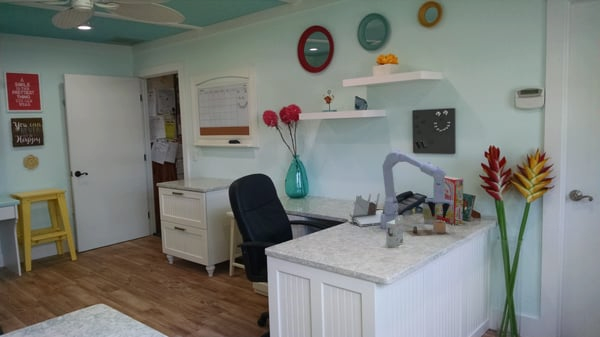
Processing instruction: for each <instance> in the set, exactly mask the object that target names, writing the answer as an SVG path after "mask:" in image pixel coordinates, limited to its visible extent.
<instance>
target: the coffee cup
mask: <svg viewBox="0 0 600 337" xmlns="http://www.w3.org/2000/svg"><path fill="white" fill-rule="evenodd" d="M426 198H427V197H423V198H422V200H421V204H422V213H423V214H422V216H423V222H424V225H433V221H437V220H438V219H437V212H438V203H436V204H435V216H434V217H432V213H431V210H430V208H429V206H428V204H429V202H425V199H426ZM428 198H429V199H433V197H428Z"/></svg>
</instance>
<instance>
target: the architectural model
mask: <svg viewBox="0 0 600 337" xmlns="http://www.w3.org/2000/svg"><path fill="white" fill-rule="evenodd" d="M380 194H381V193H377V196H376V197H377V198H376V200H371V197H372V193H369V195H368V200H367V199H365V198H363V196H362V195H361V194H359V195H358V194H357V195H356V198H355V202H353V204H354V208H353V212H349V214H348V215H349V216H350V217H351V218H350V220H351V224H354V223H356V224H357V226H359V227H360V228H365V227H366V228H367V227H374V226H380V218H381V215H382V214H385V211H384V206H385V202H384V203H383V209H379V210H377V209H378V203H379V199H380ZM396 196H397V191H395V197H396ZM396 198H397V197H396ZM385 199H386V197H385ZM385 199H384V200H385ZM398 220H400V218H398Z"/></svg>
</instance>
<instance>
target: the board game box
mask: <svg viewBox="0 0 600 337" xmlns="http://www.w3.org/2000/svg"><path fill="white" fill-rule="evenodd" d="M443 179H444V178H443ZM445 200H451V201H453V205H450V206H449V208H448V210H447V213H446V217H445V218H443V207H442V205H443V204H440V203H438V212H437V219H436V220H438V219H439V221H441V220H442V221H445V223H446V222H448V223H447V224H449V223H451V224H450V225H452V224H454V225H453V226H456V225H455V224H462V225H463V212H464V211H463V209H464V208H463V206H464V205H463V204H464V178H459V177H453V176H450V175H449V176H448V175H446V176H445ZM441 203H442V202H441Z"/></svg>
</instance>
